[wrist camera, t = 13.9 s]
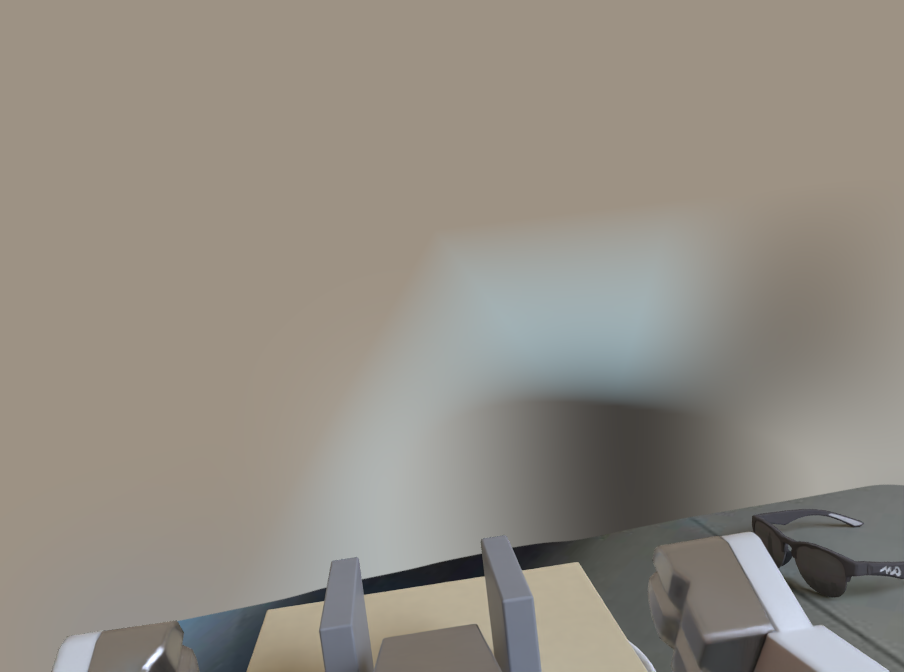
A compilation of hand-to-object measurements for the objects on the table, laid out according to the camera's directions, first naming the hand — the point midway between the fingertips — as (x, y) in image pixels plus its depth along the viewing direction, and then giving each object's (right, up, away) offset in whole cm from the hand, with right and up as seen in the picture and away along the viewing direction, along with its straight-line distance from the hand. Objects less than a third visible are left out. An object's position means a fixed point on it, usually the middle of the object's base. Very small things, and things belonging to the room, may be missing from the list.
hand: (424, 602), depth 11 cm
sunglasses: (+43, -20, +65) cm, 81 cm away
